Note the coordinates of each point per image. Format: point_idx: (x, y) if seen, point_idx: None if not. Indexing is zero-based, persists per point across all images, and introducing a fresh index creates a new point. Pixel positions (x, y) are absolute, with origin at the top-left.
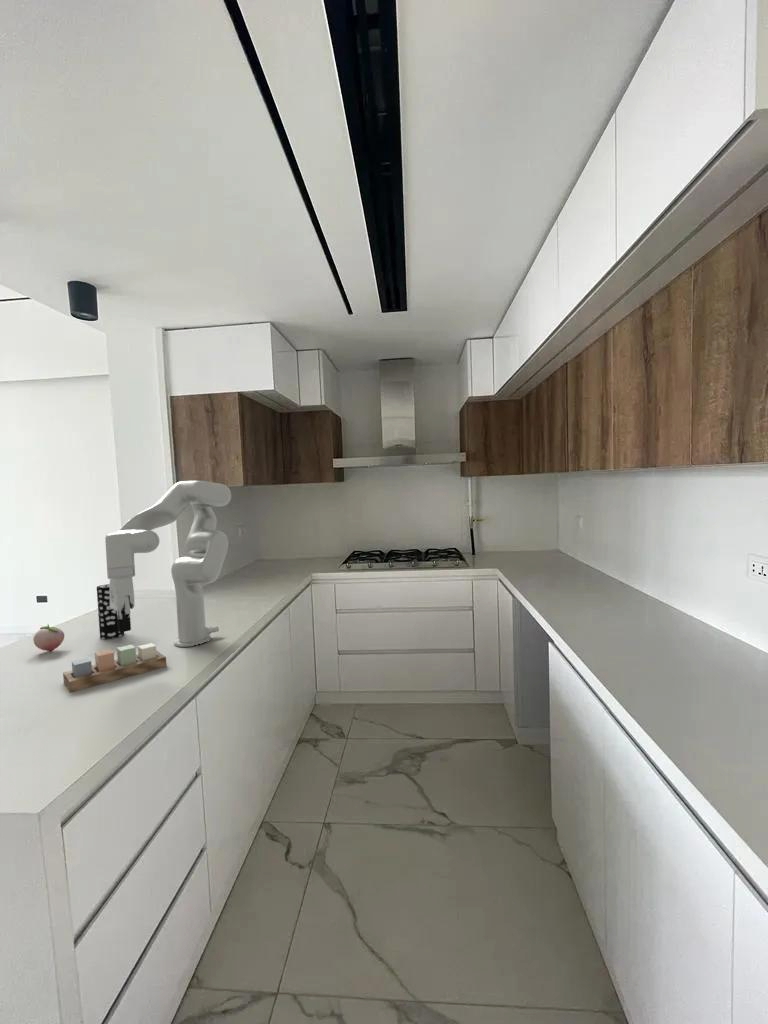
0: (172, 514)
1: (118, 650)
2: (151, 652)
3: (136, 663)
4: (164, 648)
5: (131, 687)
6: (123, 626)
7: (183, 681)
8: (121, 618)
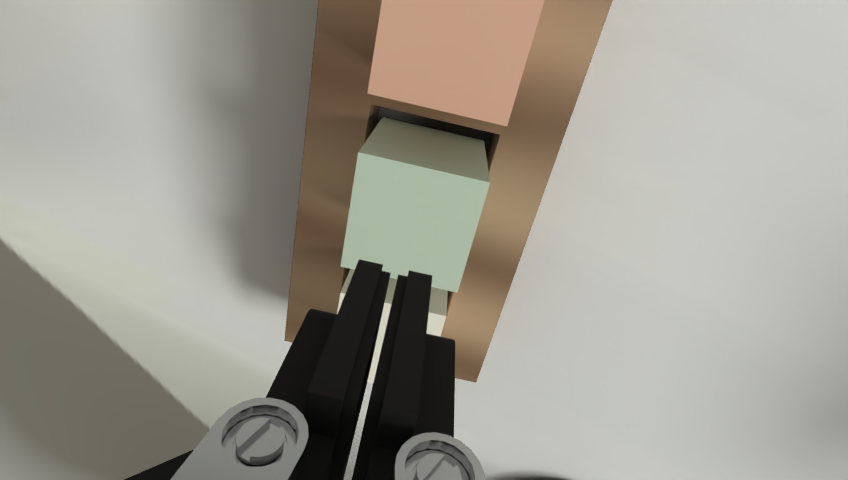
0: None
1: (434, 165)
2: None
3: (323, 195)
4: (594, 443)
5: (111, 22)
6: (299, 336)
7: (2, 228)
8: (217, 428)
